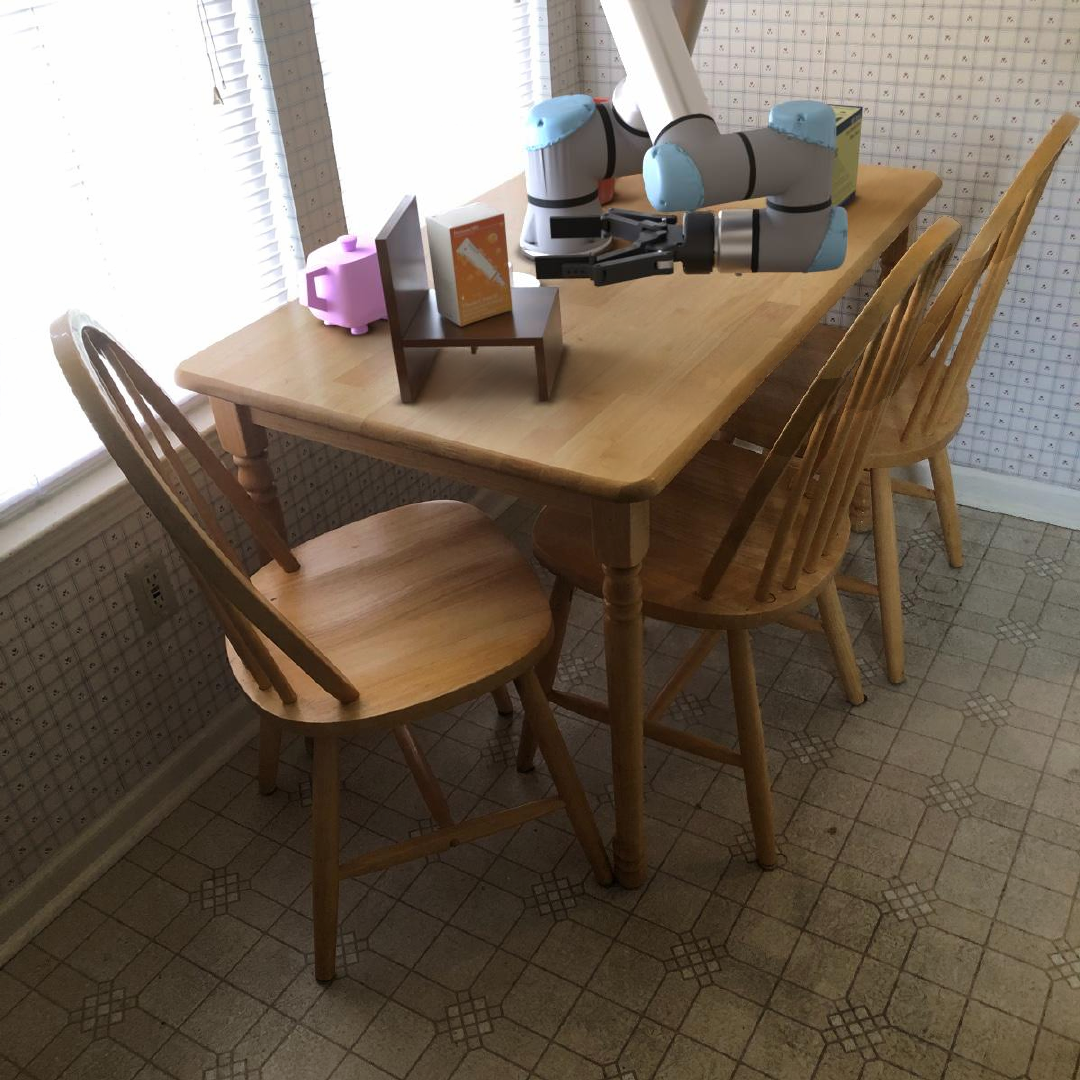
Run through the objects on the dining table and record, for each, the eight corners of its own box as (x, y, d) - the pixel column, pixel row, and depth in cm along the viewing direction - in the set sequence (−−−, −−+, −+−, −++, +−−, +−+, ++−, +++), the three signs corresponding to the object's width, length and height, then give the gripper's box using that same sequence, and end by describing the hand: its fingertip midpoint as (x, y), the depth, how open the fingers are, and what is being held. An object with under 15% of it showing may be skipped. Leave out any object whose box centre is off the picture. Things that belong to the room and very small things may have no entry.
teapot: (339, 352, 161) (322, 267, 153) (285, 332, 168) (267, 250, 160) (438, 303, 172) (427, 222, 165) (384, 287, 179) (371, 209, 172)
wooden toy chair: (428, 348, 159) (405, 195, 147) (563, 347, 156) (551, 190, 144) (401, 402, 146) (374, 239, 134) (548, 402, 143) (534, 235, 131)
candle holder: (483, 274, 181) (480, 248, 178) (552, 279, 176) (550, 253, 174) (450, 303, 172) (447, 276, 169) (522, 310, 168) (519, 283, 165)
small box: (461, 328, 142) (448, 228, 135) (436, 313, 147) (423, 215, 139) (514, 310, 146) (505, 211, 138) (489, 296, 150) (478, 200, 143)
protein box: (856, 197, 197) (864, 105, 188) (824, 226, 186) (831, 130, 177) (799, 190, 202) (805, 100, 193) (765, 218, 191) (769, 125, 182)
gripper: (713, 313, 128) (531, 316, 132) (716, 235, 149) (558, 239, 152) (714, 250, 124) (526, 255, 128) (716, 179, 144) (554, 184, 148)
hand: (543, 246), depth 140 cm, fingers open, 13 cm apart
